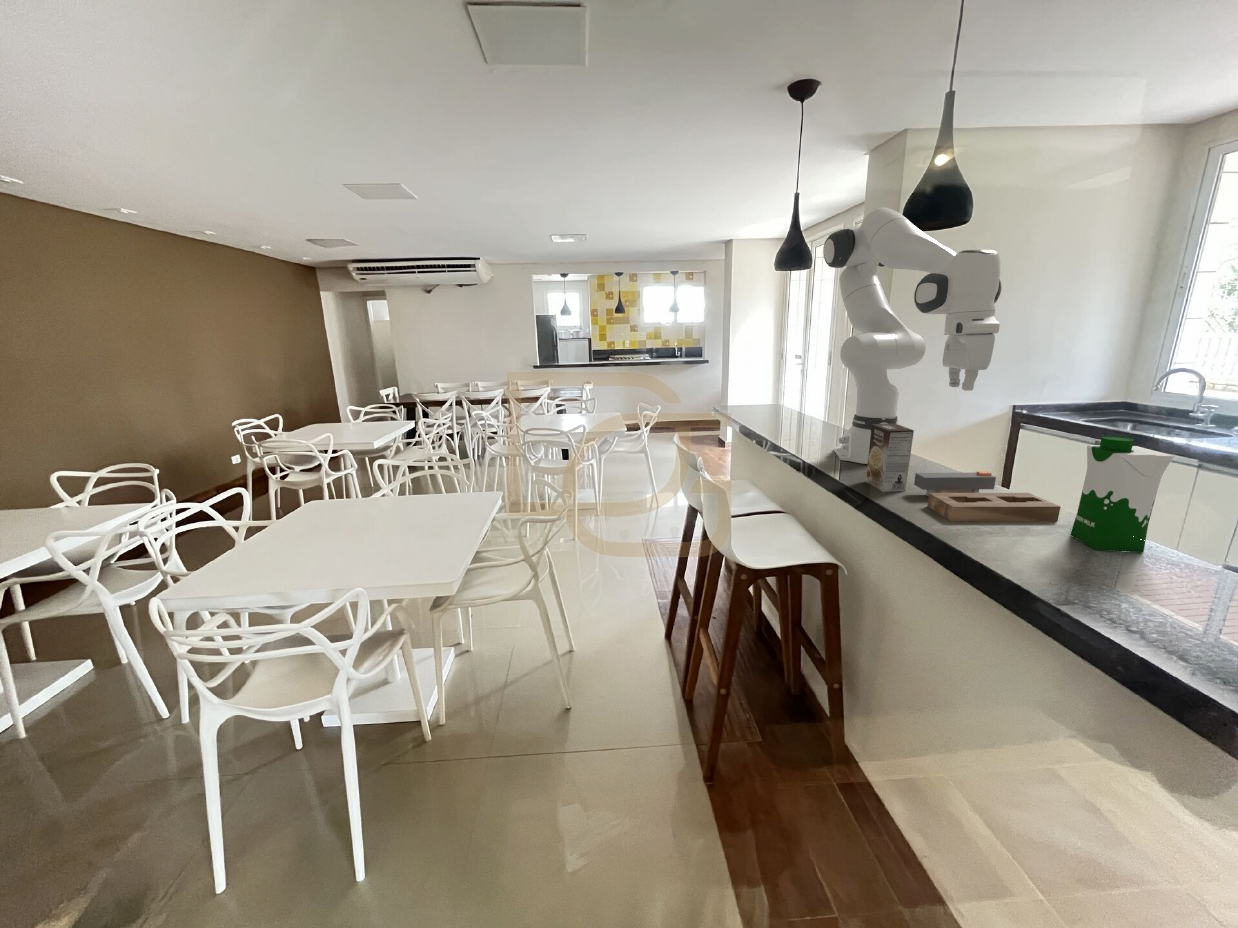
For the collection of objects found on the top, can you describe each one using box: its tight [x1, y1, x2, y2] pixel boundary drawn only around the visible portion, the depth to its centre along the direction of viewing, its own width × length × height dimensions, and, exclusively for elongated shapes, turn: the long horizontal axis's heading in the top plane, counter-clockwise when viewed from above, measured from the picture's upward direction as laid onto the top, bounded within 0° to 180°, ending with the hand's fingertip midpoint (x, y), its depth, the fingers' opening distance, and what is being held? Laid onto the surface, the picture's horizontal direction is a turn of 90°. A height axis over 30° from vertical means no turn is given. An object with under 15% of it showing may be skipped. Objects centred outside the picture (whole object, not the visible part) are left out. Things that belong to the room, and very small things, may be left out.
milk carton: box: [1070, 435, 1174, 554], centre depth 86 cm, size 9×9×20 cm
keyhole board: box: [926, 492, 1061, 522], centre depth 103 cm, size 9×21×4 cm, turn 85°
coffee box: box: [865, 423, 915, 493], centre depth 122 cm, size 9×6×16 cm
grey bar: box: [913, 471, 997, 497], centre depth 115 cm, size 4×16×6 cm, turn 85°
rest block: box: [935, 489, 972, 493], centre depth 115 cm, size 3×7×2 cm, turn 85°
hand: (960, 388), depth 110 cm, fingers open, 8 cm apart
